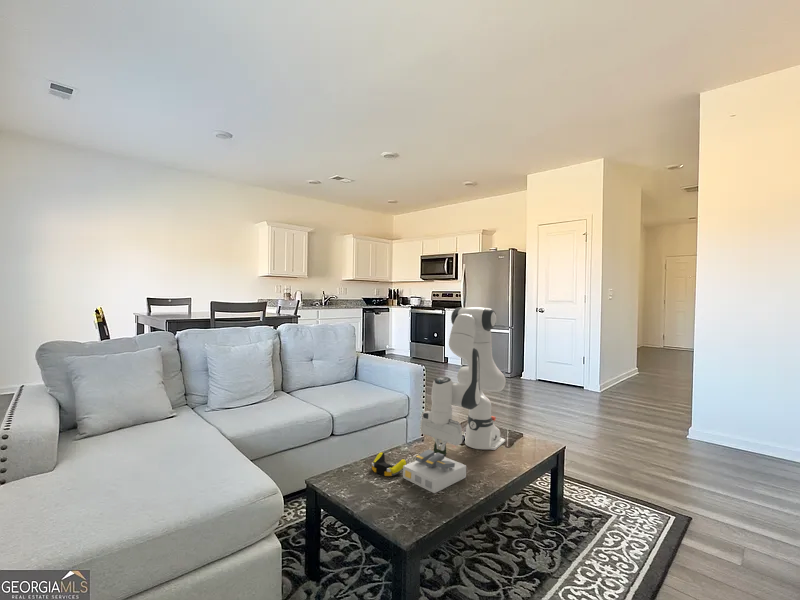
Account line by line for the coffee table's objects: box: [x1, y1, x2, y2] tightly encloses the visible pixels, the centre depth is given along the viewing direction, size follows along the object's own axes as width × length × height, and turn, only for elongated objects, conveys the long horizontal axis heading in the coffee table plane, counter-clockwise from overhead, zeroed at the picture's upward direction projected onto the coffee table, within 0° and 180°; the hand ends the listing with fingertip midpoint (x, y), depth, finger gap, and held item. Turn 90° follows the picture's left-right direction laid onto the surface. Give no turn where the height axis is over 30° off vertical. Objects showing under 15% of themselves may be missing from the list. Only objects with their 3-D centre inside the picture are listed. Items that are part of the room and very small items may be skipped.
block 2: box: [436, 461, 455, 468], centre depth 160 cm, size 8×3×2 cm, turn 134°
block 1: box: [415, 448, 434, 463], centre depth 168 cm, size 8×3×2 cm, turn 134°
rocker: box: [425, 453, 445, 468], centre depth 164 cm, size 8×3×2 cm, turn 134°
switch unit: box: [402, 453, 467, 494], centre depth 164 cm, size 20×17×6 cm
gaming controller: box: [371, 451, 407, 477], centre depth 169 cm, size 15×6×10 cm
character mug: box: [432, 437, 447, 456], centre depth 188 cm, size 11×7×13 cm, turn 47°
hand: (440, 449), depth 166 cm, fingers closed
